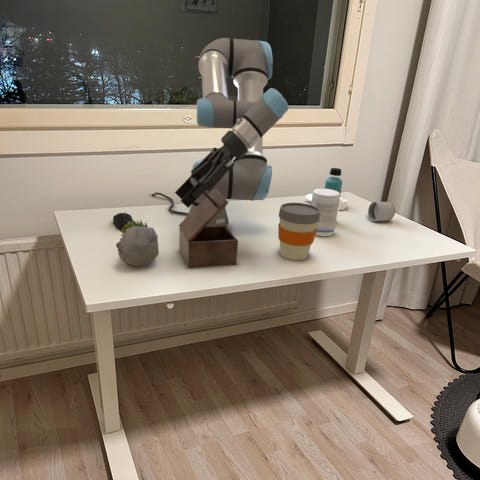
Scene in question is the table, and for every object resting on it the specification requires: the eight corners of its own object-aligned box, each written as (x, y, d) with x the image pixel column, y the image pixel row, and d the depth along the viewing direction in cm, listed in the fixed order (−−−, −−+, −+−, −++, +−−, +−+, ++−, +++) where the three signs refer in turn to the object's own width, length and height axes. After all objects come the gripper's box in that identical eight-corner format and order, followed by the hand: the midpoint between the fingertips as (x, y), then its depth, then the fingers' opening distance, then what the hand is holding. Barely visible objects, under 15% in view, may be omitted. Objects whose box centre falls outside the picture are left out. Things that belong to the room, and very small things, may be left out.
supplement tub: (339, 235, 171) (346, 194, 163) (319, 238, 166) (326, 197, 159) (321, 226, 178) (327, 187, 170) (301, 229, 173) (307, 189, 165)
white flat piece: (300, 199, 206) (326, 196, 213) (325, 212, 193) (353, 208, 200) (301, 191, 205) (327, 189, 211) (327, 203, 192) (354, 200, 198)
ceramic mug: (394, 223, 187) (398, 203, 183) (376, 224, 184) (380, 204, 181) (379, 214, 195) (383, 196, 192) (361, 215, 193) (365, 196, 189)
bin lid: (216, 189, 142) (195, 167, 136) (228, 202, 131) (206, 179, 126) (180, 226, 144) (158, 206, 139) (189, 242, 134) (166, 221, 128)
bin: (224, 248, 152) (225, 225, 148) (236, 264, 142) (238, 240, 138) (179, 251, 148) (179, 227, 144) (188, 268, 138) (188, 242, 134)
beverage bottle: (317, 223, 181) (326, 169, 170) (319, 217, 186) (327, 165, 176) (335, 225, 180) (344, 171, 169) (336, 220, 185) (345, 167, 175)
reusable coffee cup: (282, 263, 145) (288, 215, 138) (268, 247, 156) (273, 202, 148) (319, 261, 149) (327, 214, 141) (304, 246, 159) (310, 202, 151)
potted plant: (114, 263, 129) (97, 231, 137) (145, 280, 140) (128, 249, 148) (144, 231, 127) (125, 201, 135) (174, 251, 137) (154, 222, 145)
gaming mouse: (119, 235, 156) (118, 223, 154) (111, 220, 168) (110, 209, 166) (138, 233, 158) (138, 222, 156) (129, 219, 170) (129, 208, 168)
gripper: (220, 122, 136) (164, 181, 139) (243, 136, 120) (179, 201, 123) (237, 142, 140) (182, 198, 143) (261, 158, 124) (199, 220, 127)
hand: (181, 199), depth 133 cm, fingers closed on bin lid, 7 cm apart
